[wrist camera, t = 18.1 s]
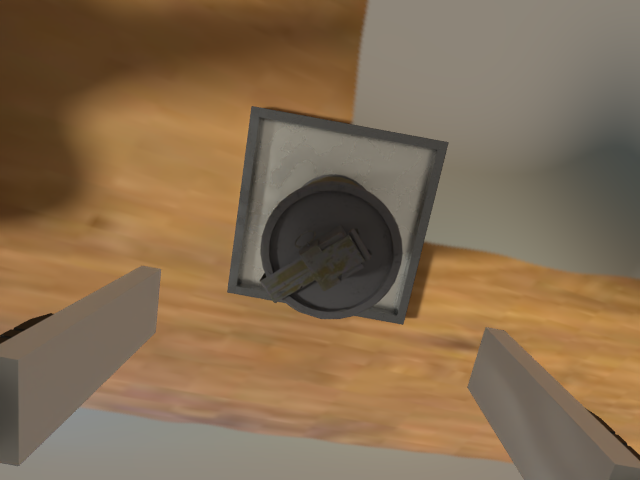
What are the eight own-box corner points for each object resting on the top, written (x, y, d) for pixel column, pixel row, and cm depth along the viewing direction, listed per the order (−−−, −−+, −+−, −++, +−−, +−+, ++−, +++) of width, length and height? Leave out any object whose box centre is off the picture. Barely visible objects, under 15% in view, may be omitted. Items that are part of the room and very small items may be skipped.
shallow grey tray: (231, 287, 46) (227, 292, 44) (255, 108, 41) (251, 106, 39) (400, 318, 46) (403, 324, 44) (443, 143, 41) (448, 142, 39)
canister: (346, 157, 41) (358, 150, 22) (391, 232, 43) (439, 288, 24) (269, 206, 43) (215, 241, 23) (315, 276, 45) (301, 364, 25)
